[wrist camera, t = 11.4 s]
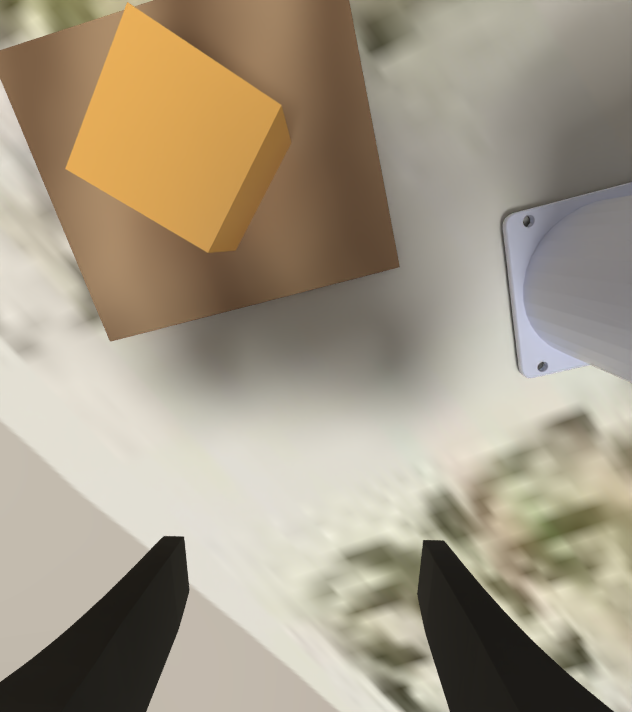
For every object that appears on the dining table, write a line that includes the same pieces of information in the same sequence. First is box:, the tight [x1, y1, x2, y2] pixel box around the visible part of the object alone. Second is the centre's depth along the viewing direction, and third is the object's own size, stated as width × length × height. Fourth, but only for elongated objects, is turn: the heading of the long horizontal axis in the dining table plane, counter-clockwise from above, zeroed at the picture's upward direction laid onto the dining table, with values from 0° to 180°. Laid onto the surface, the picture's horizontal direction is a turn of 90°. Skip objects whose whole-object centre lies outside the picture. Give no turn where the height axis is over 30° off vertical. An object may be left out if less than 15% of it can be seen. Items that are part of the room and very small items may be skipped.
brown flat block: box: [0, 0, 400, 341], centre depth 15 cm, size 14×12×4 cm
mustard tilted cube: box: [65, 2, 291, 253], centre depth 14 cm, size 5×5×4 cm
